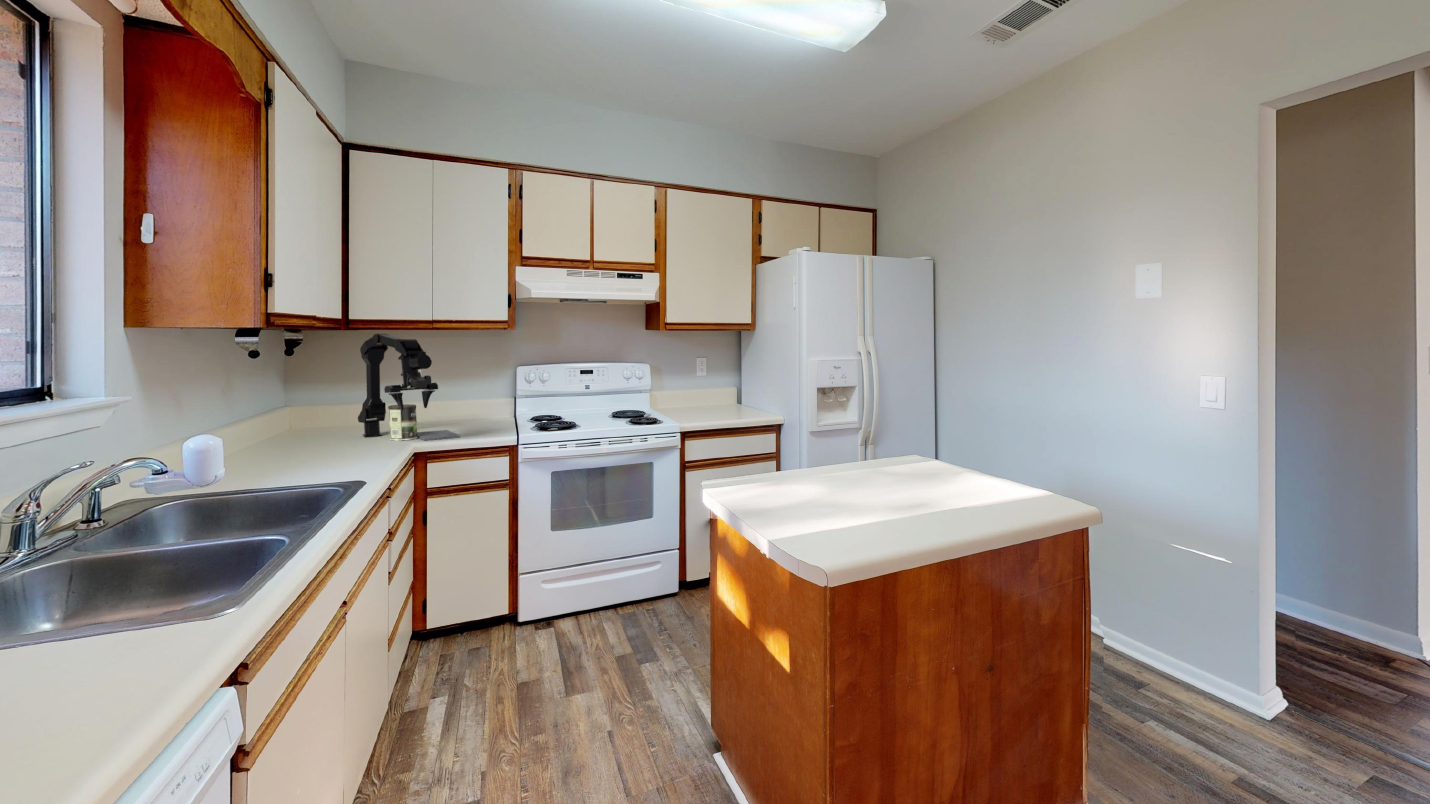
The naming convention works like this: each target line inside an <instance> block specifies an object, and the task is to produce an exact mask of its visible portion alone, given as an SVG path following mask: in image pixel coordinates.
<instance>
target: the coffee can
mask: <svg viewBox="0 0 1430 804" xmlns="http://www.w3.org/2000/svg"><path fill="white" fill-rule="evenodd" d="M387 408H388V420H389V421H388V423H389V440H390V441H395V442H401V441H402V440H405V441H412V440H417V439H418V437H417V432H418V424H417V423H418V422H417V405H416V404H407V403H405V404H404V403H403V410H401V409H400V407H399V406H398V404H393V405H392V404H391V405H388V406H387ZM402 442H403V441H402Z"/></svg>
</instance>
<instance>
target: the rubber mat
mask: <svg viewBox="0 0 1430 804" xmlns="http://www.w3.org/2000/svg"><path fill="white" fill-rule="evenodd" d="M417 437H418V438H419V439H420V440H422V441H435V440H437V441H438V440H447V439H456V438H457V439H458V438H459V439H460V438H461V436H460V435H459V434H457V433H455V432H453V431H451V430H449V429H441V430H429V431H417ZM418 438H417V439H418Z"/></svg>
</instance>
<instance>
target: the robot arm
mask: <svg viewBox="0 0 1430 804" xmlns="http://www.w3.org/2000/svg"><path fill="white" fill-rule="evenodd" d="M389 347H391V348H394V350H395V351H396V352H398V353H399V354H400V356H398V357H397V360H398V361H399V360H400V364H401V372H402V373H400V376H401V377H402V379H403V380H402V383H401V384H393V385H385V386H384V388H383V389H384V393H385V394H388V395H389V396H391V397H392V398H393V400H394V402H395V403H396V405H398V406H399V407H400V409H401V410H403V405H404V402H403V393H404V392H403V391H414V390H422V391H421V399H422V404H423V408H424V409H427V408H428V405H429V401H430V398H431V395H432V394H433V393H434V392H436V390H439V384H438V383H437V382H432V376H431V375H424V376H422V375H421V371H419V370H426V369H429V368H430V367H431V365H433V364H432V363H433V361H432V359H431V357H430V356H429V355H428V354H427V351H424V350H423V348H422V346H421V345H420V343H419V342H418V340H417V339H415V338H400V337H397V336H394V335H389V334H387V333H374V334H373V335H372V337H370V338H369V339H367V340H364V342H363V344H362V345H361V346H360V351H359V352H360V354H361V355H360V356H361V359H362V361H363V362H364V363H365V367H366V368H365V370H366V371H365V372H366V375H365V376H366V377H365V379H366V399H365V400H364V401H363V403H362V405H361V406H362V407H361V411H360V413H359V414H358V416H357V421H358V423H361V424H363V426H364V427H363V430H364V433H362V436H363V437H364V438H370V437H381V436H383V434H382V433H381V429H380V428H381V427H380V425H381V424H380V422H385V419H386V414H387V410H386V402H384V401H383V399H382V398H381V363H382V362H383V360H385V359H384V358H385V353H386V352H387V351H388V349H389Z"/></svg>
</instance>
